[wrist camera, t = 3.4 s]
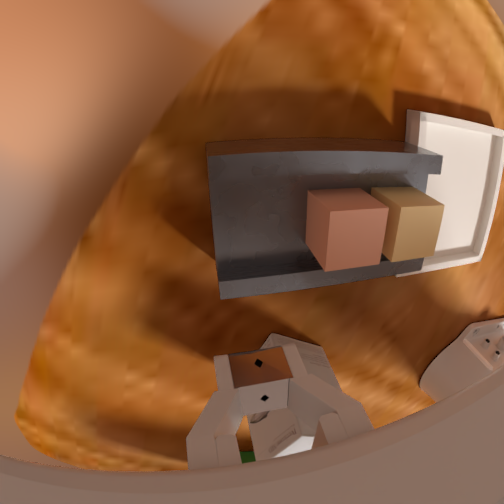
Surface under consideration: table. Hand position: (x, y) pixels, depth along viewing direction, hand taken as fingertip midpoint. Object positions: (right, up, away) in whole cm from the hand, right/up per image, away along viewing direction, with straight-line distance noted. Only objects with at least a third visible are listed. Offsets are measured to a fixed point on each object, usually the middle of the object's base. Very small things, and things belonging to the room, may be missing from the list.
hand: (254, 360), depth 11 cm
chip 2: (+6, +7, +11) cm, 14 cm away
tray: (+20, +10, +16) cm, 28 cm away
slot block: (+5, +8, +14) cm, 17 cm away
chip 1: (+11, +7, +11) cm, 17 cm away
